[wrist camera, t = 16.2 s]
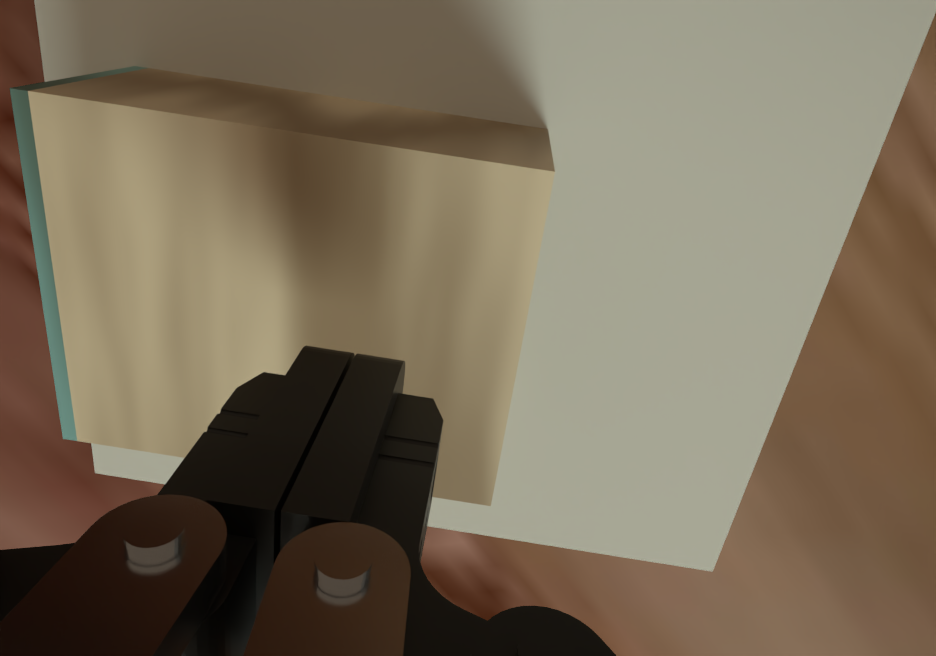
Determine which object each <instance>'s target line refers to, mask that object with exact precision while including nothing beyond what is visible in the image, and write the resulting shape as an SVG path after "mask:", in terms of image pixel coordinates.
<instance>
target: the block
mask: <svg viewBox="0 0 936 656" xmlns="http://www.w3.org/2000/svg"><path fill="white" fill-rule="evenodd" d="M10 93H11V100H12V106H13V113H14V120H15V126H16V133H17V139H18V146H19V152H20V159H21V166H22V172H23V179H24V185H25V192H26V198H27V205H28V212H29V218H30V225H31V231H32V238H33V244H34V251H35V258H36V264H37V271H38V277H39V284H40V290H41V297H42V303H43V310H44V317H45V323H46V330H47V336H48V343H49V349H50V356H51V363H52V369H53V376H54V382H55V389H56V395H57V402H58V409H59V415H60V422H61V428H62V435H63V439H68V440H75V441H81V442H87V443H94V444H100V445H106V446H113V447H119V448H125V449H132V450H138V451H144V452H151V453H157V454H163V455H170V456H176V457H182V458H185V457H186V455H187V454H188V453H189V451H190V450H191V449H192V447H193V446H194V445H195V443H196V442H197V441H198V439H199V438H200V437H201V435H202V434H203V432H207V428H208V426H209V424H210V423H211V422H212V420H213V419H214V418H215V416H216V415H217V414H220V411H221V408H222V407H223V405H224V404H225V403H226V401H227V400H228V399H229V397H230V396H231V395H232V393H233V392H234V391H235V389H236V388H237V387H239V386H241V385H242V384H244V383H246V382H247V381H249V380H251V379H253V378H254V377H256V376H258V375H259V374H261V373H263V372H267V373H274V374H280V375H286V373H287V372H288V370H289V369H290V367H291V365H292V364H293V362H294V361H295V359H296V358H297V356H298V354H299V353H300V351H301V350H302V348H303V347H304V346H313V347H319V348H326V349H332V350H338V351H345V352H351V353H354V354H355V355H356V354H357V353H358V354H365V355H371V356H377V357H384V358H390V359H396V360H403V361H405V376H404V386H403V394H408V395H414V396H420V397H427V398H433V399H434V401H435V403H436V405H437V408H438V410H439V412H440V414H441V416H442V418H443V427H442V434H441V441H440V448H439V455H438V462H437V469H436V475H435V482H434V489H433V496H432V497H435V498H442V499H448V500H454V501H461V502H467V503H473V504H480V505H486V506H491V502H492V497H493V492H494V487H495V482H496V476H497V471H498V466H499V461H500V456H501V450H502V445H503V440H504V435H505V430H506V424H507V419H508V414H509V409H510V404H511V398H512V393H513V388H514V383H515V378H516V372H517V367H518V362H519V357H520V352H521V346H522V341H523V336H524V331H525V326H526V320H527V315H528V310H529V305H530V300H531V294H532V289H533V284H534V279H535V274H536V268H537V263H538V258H539V253H540V248H541V242H542V237H543V232H544V227H545V222H546V216H547V211H548V206H549V201H550V196H551V190H552V185H553V180H554V175H555V168H554V163H553V157H552V151H551V145H550V139H549V133H548V129H544V128H537V127H531V126H524V125H518V124H511V123H505V122H498V121H491V120H485V119H478V118H472V117H465V116H459V115H452V114H446V113H439V112H433V111H426V110H420V109H413V108H406V107H400V106H393V105H387V104H380V103H374V102H367V101H361V100H354V99H348V98H341V97H335V96H328V95H321V94H315V93H308V92H302V91H295V90H289V89H282V88H276V87H269V86H263V85H256V84H250V83H243V82H236V81H230V80H223V79H217V78H210V77H204V76H197V75H191V74H184V73H178V72H171V71H165V70H158V69H151V68H145V67H138V66H132V67H126V68H121V69H115V70H109V71H104V72H98V73H92V74H87V75H81V76H75V77H70V78H64V79H59V80H53V81H47V82H42V83H36V84H30V85H25V86H19V87H13V88H10Z"/></svg>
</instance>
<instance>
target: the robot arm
mask: <svg viewBox="0 0 936 656" xmlns="http://www.w3.org/2000/svg"><path fill="white" fill-rule="evenodd" d="M404 376H405V361H403V360H396V359H390V358H384V357H377V356H371V355H365V354H358V353H357V354H356V355H355V354H354V353H351V352H345V351H338V350H332V349H326V348H319V347H313V346H304V347H303V348H302V350H301V351H300V353H299V354H298V356H297V358H296V359H295V361H294V362H293V364H292V365H291V367H290V369H289V370H288V372H287V373H286V375H280V374H274V373H267V372H263V373H261V374H259V375H258V376H256V377H254V378H253V379H251V380H249V381H247V382H246V383H244V384H242V385H241V386H239V387H237V388H236V389H235V391H234V392H233V393H232V395H231V396H230V397H229V399H228V400H227V401H226V403H225V404H224V405H223V407H222V408H221V411H220V414H217V415H216V416H215V418H214V419H213V420H212V422H211V423H210V424H209V426H208V428H207V432H203V434H202V435H201V437H200V438H199V439H198V441H197V442H196V443H195V445H194V446H193V447H192V449H191V450H190V451H189V453H188V454H187V455H186V457H185V458H184V460H183V461H182V462H181V464H180V465H179V466H178V468H177V469H176V470H175V472H174V473H173V474H172V476H171V477H170V478H169V480H168V481H167V483H166V484H165V485H164V487H163V488H162V489H161V491H160V492H159V493H158V495H155V496H150V497H144V498H140V499H137V500H133V501H130V502H128V503H125V504H123V505H120V506H119V507H117V508H115V509H113V510H111V511H109V512H108V513H106V514H105V515H103V516H102V517H101V518H99V519H98V520H97V521H96V522H95V523H94V524H93V525H92V526H91V527H90V528H89V529H88V530H87V531H86V532H85V533H84V534H83V535H82V536H81V537H80V538H79V539H78V540H77V542H76V543H71V544H63V545H54V546H42V547H30V548H19V549H7V550H0V656H616V655H615V654H614V653H613V651H612V650H611V649H610V648H609V647H608V646H607V645H606V644H605V643H604V642H603V640H602V639H601V638H600V637H599V636H598V635H597V634H596V633H595V632H594V631H593V630H592V629H590V628H589V627H588V626H586V625H585V624H584V623H582V622H581V621H579V620H578V619H576V618H574V617H572V616H570V615H568V614H566V613H563V612H561V611H558V610H555V609H551V608H547V607H540V606H520V607H515V608H511V609H508V610H505V611H502V612H500V613H498V614H497V615H495V616H493V617H492V618H491V619H490V620H488V621H487V620H485V619H483V618H480V617H478V616H476V615H474V614H472V613H470V612H468V611H466V610H463V609H462V608H460V607H458V606H456V605H454V604H453V603H451V602H450V601H448V600H447V599H446V598H444V597H443V596H442V595H441V594H440V593H439V592H438V591H437V590H436V589H435V588H434V587H433V586H432V585H431V583H430V582H429V581H428V579H427V577H426V576H425V574H424V572H423V570H422V566H421V563H420V562H421V556H422V550H423V546H424V540H425V535H426V529H427V524H428V519H429V513H430V508H431V503H432V496H433V489H434V482H435V475H436V469H437V462H438V455H439V448H440V441H441V434H442V427H443V418H442V416H441V414H440V412H439V410H438V408H437V405H436V403H435V401H434V399H433V398H427V397H420V396H414V395H408V394H403V386H404Z"/></svg>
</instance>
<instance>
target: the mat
mask: <svg viewBox="0 0 936 656" xmlns="http://www.w3.org/2000/svg"><path fill="white" fill-rule="evenodd" d="M34 2H35V10H36V18H37V26H38V33H39V41H40V49H41V57H42V64H43V72H44V80H45V82H47V81H53V80H59V79H64V78H70V77H75V76H81V75H87V74H92V73H98V72H104V71H109V70H115V69H121V68H126V67H132V66H138V67H145V68H151V69H158V70H165V71H171V72H178V73H184V74H191V75H197V76H204V77H210V78H217V79H223V80H230V81H236V82H243V83H250V84H256V85H263V86H269V87H276V88H282V89H289V90H295V91H302V92H308V93H315V94H321V95H328V96H335V97H341V98H348V99H354V100H361V101H367V102H374V103H380V104H387V105H393V106H400V107H406V108H413V109H420V110H426V111H433V112H439V113H446V114H452V115H459V116H465V117H472V118H478V119H485V120H491V121H498V122H505V123H511V124H518V125H524V126H531V127H537V128H544V129H548V133H549V139H550V145H551V151H552V157H553V163H554V168H555V175H554V180H553V185H552V190H551V196H550V201H549V206H548V211H547V216H546V222H545V227H544V232H543V237H542V242H541V248H540V253H539V258H538V263H537V268H536V274H535V279H534V284H533V289H532V294H531V300H530V305H529V310H528V315H527V320H526V326H525V331H524V336H523V341H522V346H521V352H520V357H519V362H518V367H517V372H516V378H515V383H514V388H513V393H512V398H511V404H510V409H509V414H508V419H507V424H506V430H505V435H504V440H503V445H502V450H501V456H500V461H499V466H498V471H497V476H496V482H495V487H494V492H493V497H492V502H491V506H486V505H480V504H473V503H467V502H461V501H454V500H448V499H442V498H435V497H432V503H431V508H430V513H429V519H428V524H427V526H430V527H436V528H443V529H449V530H455V531H461V532H468V533H474V534H480V535H486V536H493V537H499V538H505V539H512V540H518V541H524V542H530V543H537V544H543V545H549V546H555V547H562V548H568V549H574V550H580V551H587V552H593V553H599V554H606V555H612V556H618V557H624V558H631V559H637V560H643V561H649V562H656V563H662V564H668V565H674V566H681V567H687V568H693V569H700V570H706V571H712V572H713V569H714V567H715V564H716V562H717V559H718V557H719V554H720V552H721V549H722V547H723V544H724V542H725V539H726V537H727V534H728V532H729V529H730V526H731V524H732V521H733V519H734V516H735V514H736V511H737V509H738V506H739V504H740V501H741V499H742V496H743V494H744V491H745V489H746V486H747V484H748V481H749V479H750V476H751V474H752V471H753V469H754V466H755V464H756V461H757V459H758V456H759V454H760V451H761V449H762V446H763V444H764V441H765V439H766V436H767V434H768V431H769V429H770V426H771V424H772V421H773V419H774V416H775V414H776V411H777V409H778V406H779V404H780V401H781V399H782V396H783V394H784V391H785V389H786V386H787V384H788V381H789V379H790V376H791V374H792V371H793V369H794V366H795V364H796V361H797V359H798V356H799V354H800V351H801V349H802V346H803V344H804V341H805V339H806V336H807V334H808V331H809V328H810V326H811V323H812V321H813V318H814V316H815V313H816V311H817V308H818V306H819V303H820V301H821V298H822V296H823V293H824V291H825V288H826V286H827V283H828V281H829V278H830V276H831V273H832V271H833V268H834V266H835V263H836V261H837V258H838V256H839V253H840V251H841V248H842V246H843V243H844V241H845V238H846V236H847V233H848V231H849V228H850V226H851V223H852V221H853V218H854V216H855V213H856V211H857V208H858V206H859V203H860V201H861V198H862V196H863V193H864V191H865V188H866V186H867V183H868V181H869V178H870V176H871V173H872V171H873V168H874V166H875V163H876V161H877V158H878V156H879V153H880V151H881V148H882V146H883V143H884V141H885V138H886V136H887V133H888V130H889V128H890V125H891V123H892V120H893V118H894V115H895V113H896V110H897V108H898V105H899V103H900V100H901V98H902V95H903V93H904V90H905V88H906V85H907V83H908V80H909V78H910V75H911V73H912V70H913V68H914V65H915V63H916V60H917V58H918V55H919V53H920V50H921V48H922V45H923V43H924V40H925V38H926V35H927V33H928V30H929V28H930V25H931V23H932V20H933V18H934V15H935V13H936V0H34ZM91 445H92V452H93V460H94V468H95V473H98V474H104V475H111V476H117V477H123V478H129V479H136V480H142V481H148V482H154V483H161V484H166V483H167V481H168V480H169V478H170V477H171V476H172V474H173V473H174V472H175V470H176V469H177V468H178V466H179V465H180V464H181V462H182V461H183V460H184V458H182V457H176V456H170V455H163V454H157V453H151V452H144V451H138V450H132V449H125V448H119V447H113V446H106V445H100V444H94V443H91Z"/></svg>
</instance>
